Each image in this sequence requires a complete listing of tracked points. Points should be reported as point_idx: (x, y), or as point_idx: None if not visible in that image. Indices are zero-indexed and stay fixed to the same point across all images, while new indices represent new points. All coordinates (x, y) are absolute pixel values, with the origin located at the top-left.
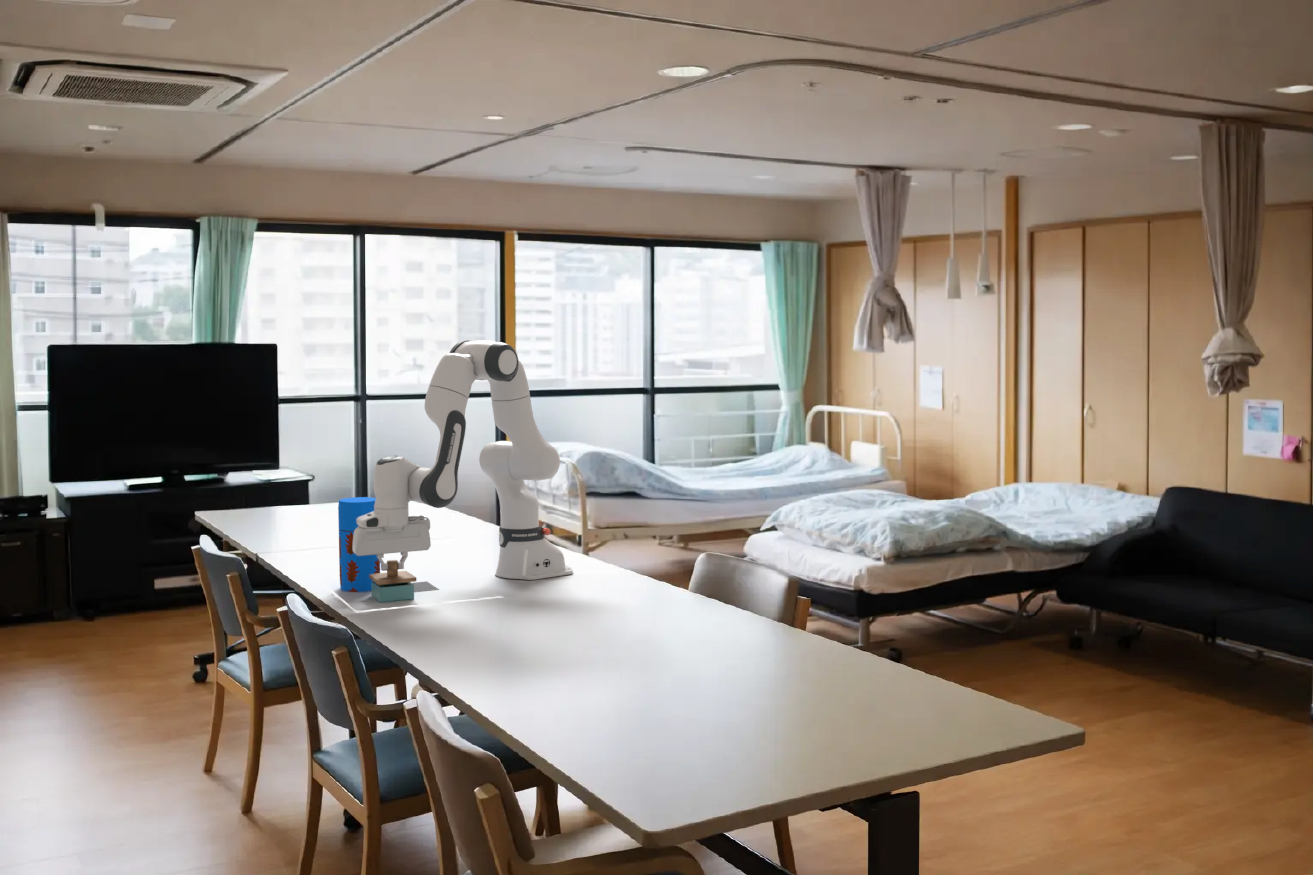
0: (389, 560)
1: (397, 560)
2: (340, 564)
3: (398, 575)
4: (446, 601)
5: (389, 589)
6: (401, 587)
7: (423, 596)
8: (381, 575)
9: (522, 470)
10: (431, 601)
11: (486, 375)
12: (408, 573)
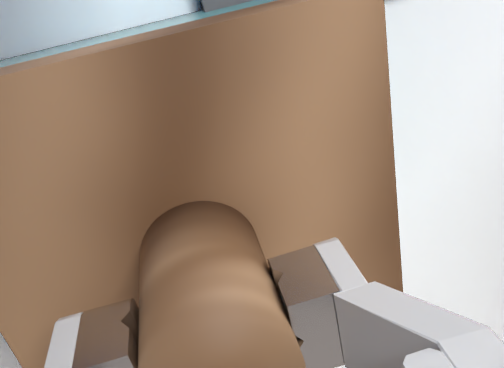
0: (179, 354)
1: (304, 361)
2: None
3: (263, 241)
4: (486, 242)
5: None
6: None
7: (400, 84)
8: (68, 216)
9: None
10: (412, 232)
11: None
12: (378, 159)
